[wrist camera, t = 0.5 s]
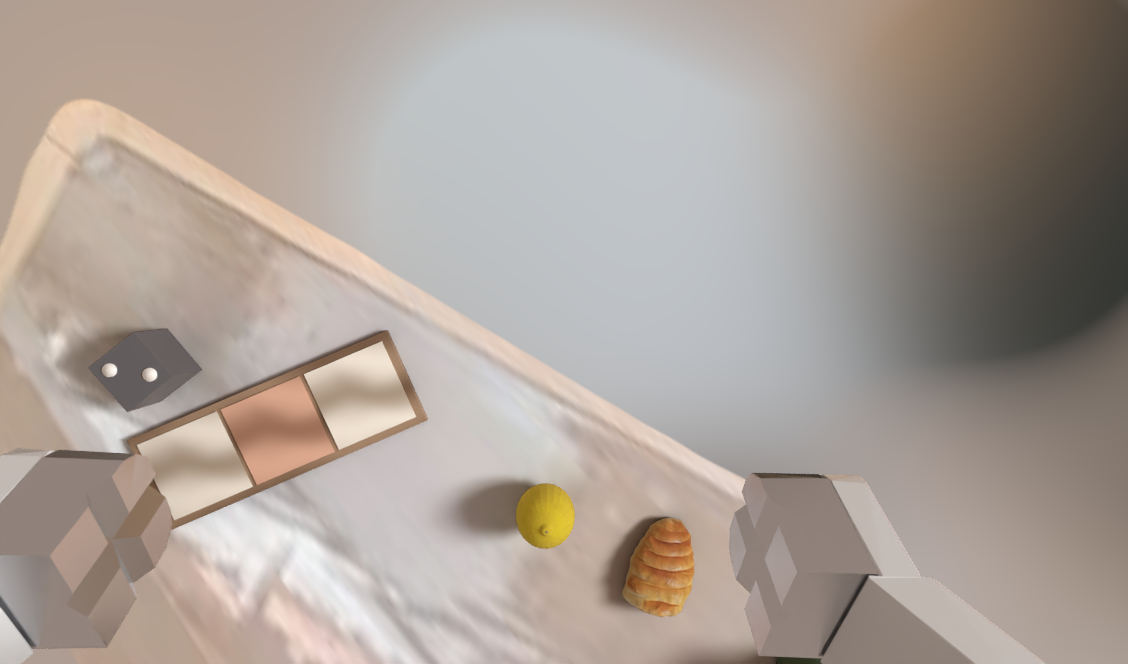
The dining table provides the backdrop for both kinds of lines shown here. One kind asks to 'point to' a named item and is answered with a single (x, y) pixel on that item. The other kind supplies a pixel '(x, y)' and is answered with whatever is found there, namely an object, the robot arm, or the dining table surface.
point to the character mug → (798, 660)
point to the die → (145, 368)
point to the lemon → (545, 515)
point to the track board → (281, 428)
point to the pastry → (661, 569)
